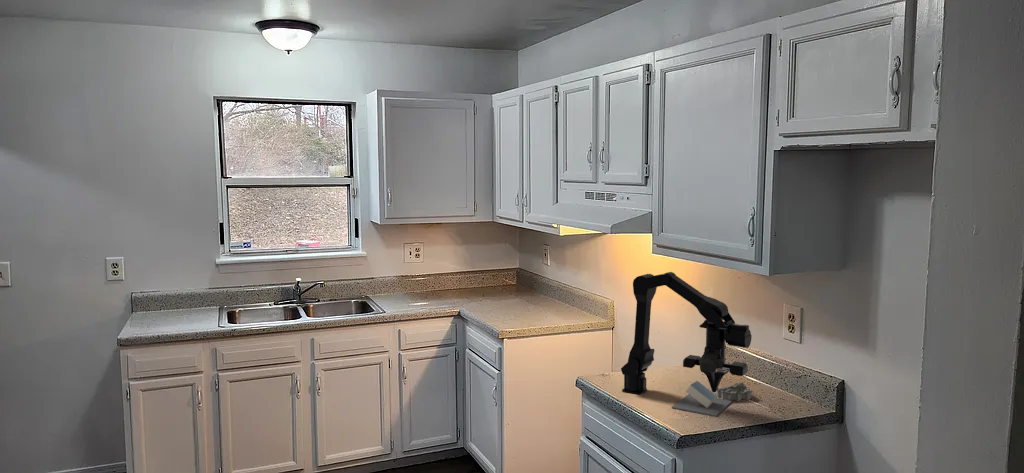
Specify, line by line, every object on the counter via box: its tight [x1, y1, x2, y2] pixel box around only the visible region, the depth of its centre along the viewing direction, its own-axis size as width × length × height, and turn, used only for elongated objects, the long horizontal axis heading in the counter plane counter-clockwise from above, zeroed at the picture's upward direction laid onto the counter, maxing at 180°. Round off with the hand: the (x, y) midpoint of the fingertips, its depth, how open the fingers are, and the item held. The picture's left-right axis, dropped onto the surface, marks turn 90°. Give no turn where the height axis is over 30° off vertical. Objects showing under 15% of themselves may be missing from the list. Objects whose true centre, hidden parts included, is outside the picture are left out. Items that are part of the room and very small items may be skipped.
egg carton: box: [716, 382, 754, 401], centre depth 231 cm, size 11×8×4 cm
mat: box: [671, 393, 733, 417], centre depth 224 cm, size 14×16×1 cm
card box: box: [685, 380, 719, 408], centre depth 223 cm, size 3×6×8 cm
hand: (714, 392), depth 221 cm, fingers closed
